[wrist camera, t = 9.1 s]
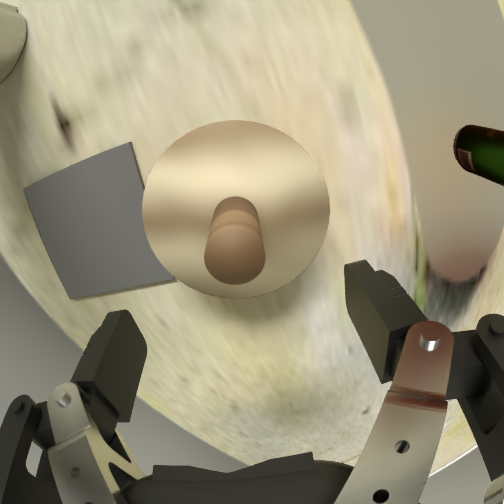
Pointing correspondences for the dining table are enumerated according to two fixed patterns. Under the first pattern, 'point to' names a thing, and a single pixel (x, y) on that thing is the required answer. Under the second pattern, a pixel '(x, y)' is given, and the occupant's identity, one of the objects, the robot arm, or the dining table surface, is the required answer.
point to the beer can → (481, 152)
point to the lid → (235, 209)
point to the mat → (96, 224)
